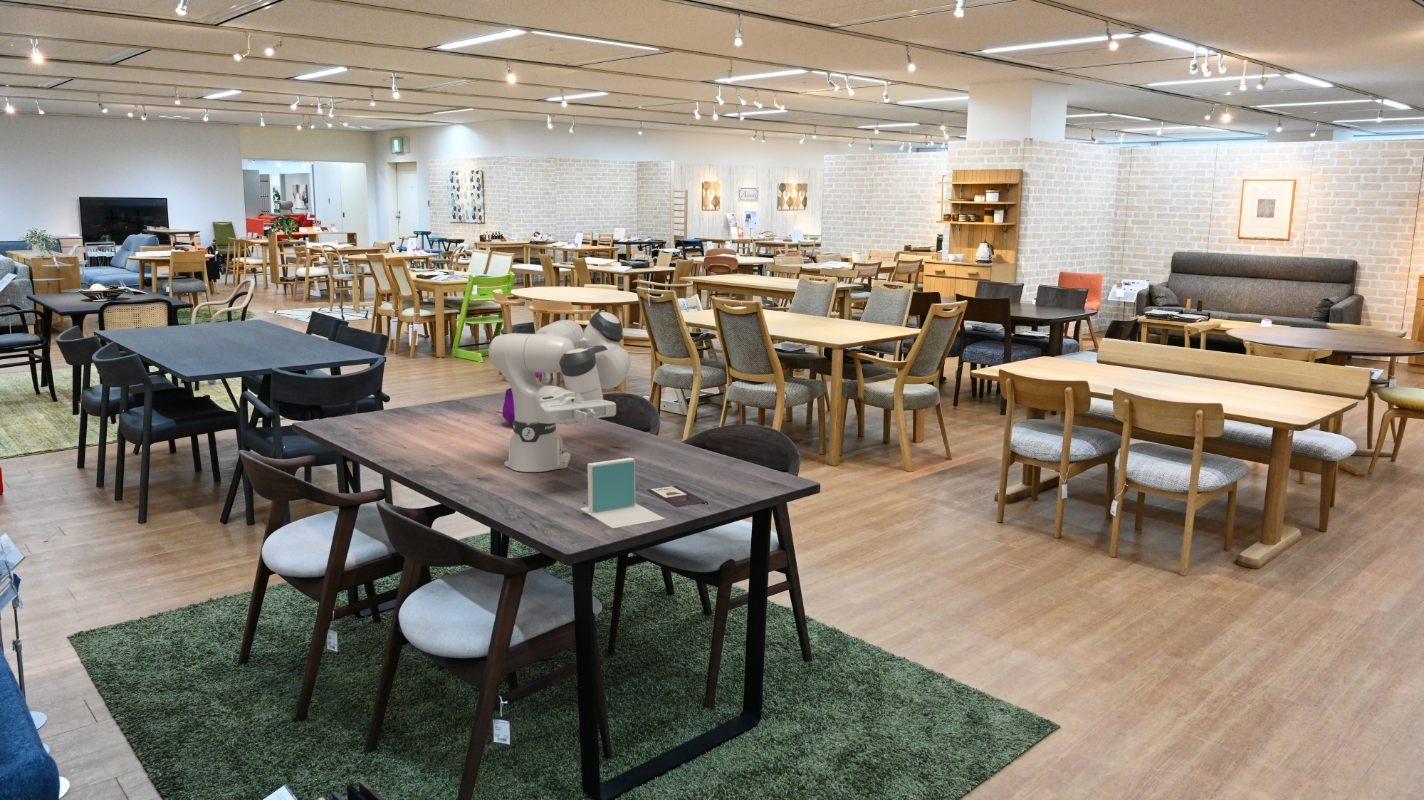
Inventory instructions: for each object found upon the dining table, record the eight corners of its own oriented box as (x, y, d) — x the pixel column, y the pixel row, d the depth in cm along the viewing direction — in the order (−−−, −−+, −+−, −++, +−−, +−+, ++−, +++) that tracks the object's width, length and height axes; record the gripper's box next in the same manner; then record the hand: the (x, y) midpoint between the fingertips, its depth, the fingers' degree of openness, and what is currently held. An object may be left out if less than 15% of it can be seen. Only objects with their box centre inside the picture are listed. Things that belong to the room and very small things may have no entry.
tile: (588, 510, 242) (587, 463, 240) (631, 503, 248) (631, 457, 246) (592, 513, 240) (591, 465, 238) (636, 505, 246) (635, 459, 244)
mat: (579, 510, 244) (579, 508, 244) (629, 502, 251) (629, 500, 251) (612, 530, 229) (612, 528, 229) (665, 520, 236) (665, 518, 236)
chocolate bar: (676, 507, 245) (646, 489, 261) (676, 510, 245) (646, 493, 261) (707, 502, 250) (676, 485, 265) (707, 505, 250) (676, 489, 265)
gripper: (603, 415, 268) (626, 424, 257) (533, 423, 257) (554, 432, 246) (603, 392, 267) (626, 400, 255) (532, 399, 256) (553, 408, 245)
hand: (590, 416), depth 251 cm, fingers closed
